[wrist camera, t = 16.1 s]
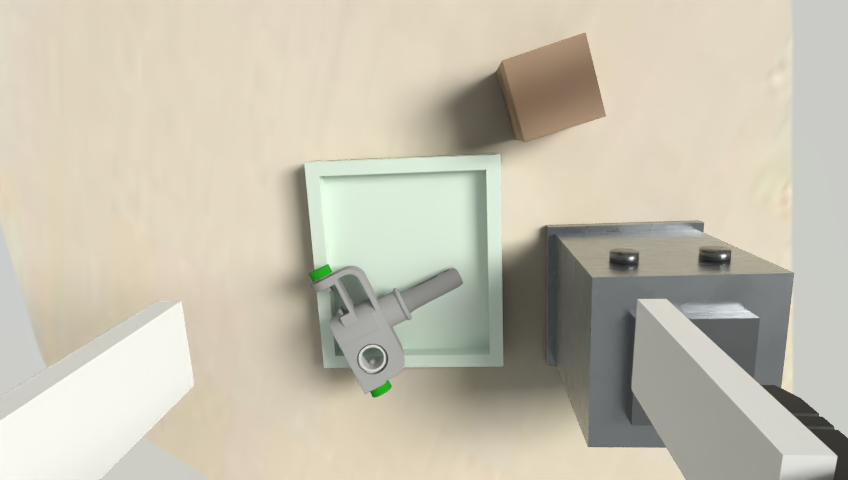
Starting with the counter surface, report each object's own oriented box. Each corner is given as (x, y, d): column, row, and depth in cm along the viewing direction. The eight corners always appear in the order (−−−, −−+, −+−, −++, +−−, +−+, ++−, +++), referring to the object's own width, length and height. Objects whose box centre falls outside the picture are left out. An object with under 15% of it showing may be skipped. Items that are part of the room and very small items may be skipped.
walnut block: (496, 71, 36) (502, 60, 31) (565, 47, 36) (585, 32, 30) (515, 139, 37) (524, 141, 31) (583, 117, 37) (605, 116, 31)
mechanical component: (430, 214, 36) (303, 277, 36) (493, 340, 37) (369, 404, 36) (426, 214, 39) (308, 272, 39) (484, 331, 40) (370, 390, 39)
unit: (546, 223, 38) (587, 271, 26) (699, 219, 37) (819, 266, 25) (545, 360, 41) (582, 466, 28) (689, 359, 40) (794, 467, 27)
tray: (312, 161, 39) (304, 163, 37) (498, 153, 37) (500, 154, 36) (330, 356, 42) (323, 368, 40) (501, 355, 41) (503, 366, 39)
